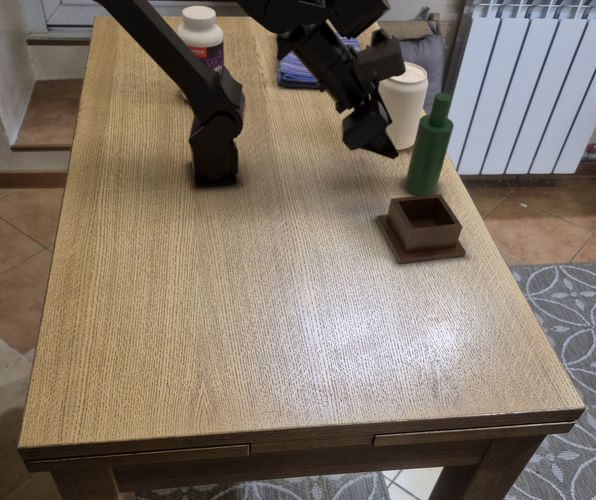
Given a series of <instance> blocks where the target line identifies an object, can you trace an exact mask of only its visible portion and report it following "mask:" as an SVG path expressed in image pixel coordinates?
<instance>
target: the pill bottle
mask: <svg viewBox="0 0 596 500" xmlns="http://www.w3.org/2000/svg"><path fill="white" fill-rule="evenodd" d="M181 18H182V19H181V20H182V23H180V25H178V27H177V28H176V31H175V32H176V34H177V35H178V36H179V37H180V38H181V39H182V40H183V41H184V43H185V44H186V45H187V46H188V47H189V48H190V49H191V51H192V52H193V53H194V54H195V55H196V56H197V57H198V58H199V60H200V61H201V62H202V63H203V64H204V65H205V66H207V67H209V68H211V69H213V70H215V71H217V72H218V71H219V70H220V68H221V67H222V66H225V44H224V42H225V39H224V38H225V36H224V31H223V29H222V28H221V27H220V26H219V25H218V24H217V23H216V22H217V13H216V11H215V10H214V9H212V8H211V7H208V6H203V5H192V6H187V7H185V8H183V9H182V11H181ZM179 93H180V95H181V97H182V98H183V99H184V100H186V101H187V102H188V100H187V98H186V96H185V94H184V93H183V91H182V90H181V89H180V88H179Z"/></svg>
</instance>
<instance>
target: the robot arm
mask: <svg viewBox="0 0 596 500" xmlns="http://www.w3.org/2000/svg"><path fill="white" fill-rule="evenodd" d="M92 1H93V2H95V3H97V4H99V5H100V6H101V7H102V8H104V9H105V10H106V11H107V12H108V14H109V15H110V16H111V17H112V18H113V19H114V20H115V21H116V22H117V23H118V25H120V26H121V28H123V29H124V31H125V32H126V33H127V34H128V35H129V36H130V37H131V38H132V39H133V40H134V41H135V43H136V44H138V46H140V48H142V50H143V51H144V52H145V53H146V54H147V55H148V56H149V57H150V59H152V60H153V61H154V63H155V64H156V65H157V66H158V67H159V68H160V69H161V70H162V71H163V72H164V73H165V74H166V76H168V77H169V78H170V79H171V80H172V82H173V83H174V84H175V85H176V86H177V87H178V88H179V90H180V89H181V90H182V91H183V93H184V94H185V96H186V98H187V100H188V101H187V100H186V101H187V104H188V105H189V108H190V109H191V111H192V113H193V117H192V118H193V119H192V123H191V128H190V131H189V137H188V142H187V143H188V144H189V146H190V157H191V158H190V159H191V161H190V162H189V167H190V170H191V174H192V179H193V182H194V187H195V188H207V187H219V186H232V185H236V184H238V178H237V175H238V174H239V150H238V147H237V143H236V142H235V139H237V138H238V137H239V136H240V135H241V134H242V131H243V128H244V123H245V122H244V121H245V113H246V102H247V101H246V96H245V94H244V92H243V87H244V85H243V84H242V83H240V82H239V81H237V80H236V79H235V78H234V77H233V75H232V74H231V73H230V71H229V69H228V68H227V67H226V65H224V66H222V67H221V68H220V70H219V71H218V72H217V71H215V70H213V69H211V68H209V67H207V66H205V65H204V64H203V63H202V62H201V61H200V60H199V58H198V57H197V56H196V55H195V54H194V53H193V52H192V51H191V49H190V48H189V47H188V46H187V45H186V44H185V43H184V41H183V40H182V39H181V38H180V37H179V36H178V35H177V34H176V31H175V30H174V29H173V27H171V25H169V23H168V22H167V21H166V20H165V19H164V18H163V17H162V15H161V14H160V12H158V11H157V10H156V9H155V7H154V6H153V5H152V4H151V2H149V1H148V0H92ZM234 1H235V3H236V4H237V5H238V6H239V7H240V8H241V9H242V10H243V11H244V13H245V14H247V15H248V16H249V17H250V18H251V19H252V20H254V21H255V22H256V23H258V24H259V25H260V26H261V27H263V28H264V29H265V30H267V31H268V32H270V33H272V34H275V35H276V36H275V41H276V60H277V61H278V60H279V61H281V60H282V59H284V58H285V57H286V56H287V55H288V54H289V53H290V52H293V53H294V54H295V56H296V57H297V58H298V59H299V60H300V61H301V63H302V64H303V65H304V66H305V67H306V69H307V70H308V71H309V72H310V73H311V74H312V76H313V77H314V78H315V79H316V80H317V88H316V89H317V90H318V91H319V92H320V93H321V94H322V93H324V92H326V94H327V95H328V96H329V97H330V98H331V100H332V101H333V102H334V107H335V108H334V109H335V111H336V112H337V113H338V114H339V115H341V114H343V113H344V112H345V111H346V110H348V111H350V110H352V109H353V111H352V112H350V113H349V114H347V115H346V116H345V117H343V119H341V125H340V131H341V142H342V143H343V144H344V146H346V147H347V148H348V150H349V151H350V152H351V151H355V150H356V151H357V150H359V149H360V150H364V151H366V152H367V151H368V152H370V153H374V154H375V155H376V154H377V155H379V156H382V157H385V158H388V159H391V160H395V159H397V158H398V157H400V153H399V150H397V149H396V147H395V145H394V143H393V141H392V140H391V138H390V136H389V134H388V132H387V130H386V128H387V127H388V126H389V125H390V124H392V119H391V117H390V114H389V112H388V110H387V108H386V105H385V103H384V101H383V99H382V96H381V94H380V92H379V90H378V89H379V82H380V81H383V80H385V79H388V78H391V77H394V76H395V77H398V76H401V75H403V74H404V73H405V72H406V68H405V64H404V62H405V60H404V55H403V53H402V52H403V51H402V49H401V48H402V47H401V44H400V40H399V38H398V37H396V36H395V34H393V35H391V36H390V34H389V33H387V31H386V30H385V29H384V28H382V27H380V28H379V29H376V30H373V31H372V32H371V37H370V42H369V44H366V45H365V48H364V49H362V50H360V51H359V52H357V51H356V49H355V48H354V47H353V46H350V45H349V44H348V45H347V46H345V45H344V43H343V42H342V41H341V39H340V38H339V37H338V36H337V34H336V33H338V34H339V35H340V36H341V37H343V38H344V37H346V38H347V39H348V40H349V39H351V38H354V39H356V38H357V39H358V37H359V36H361V35H362V34H363V33H364V32H366V31H367V30H368V29H369V28H371V26H373V25H374V24H375V23H376V22H377V21H378V20H380V19H381V18H382V17H384V15H385V14H387V13H388V12H389V11H391V10H392V9H391V8H392V7H391V5H390V2H389V0H234ZM328 21H329V22H328ZM329 23H330V24H331V25H330V24H329ZM333 28H334V29H333ZM334 30H335V31H334Z"/></svg>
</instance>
